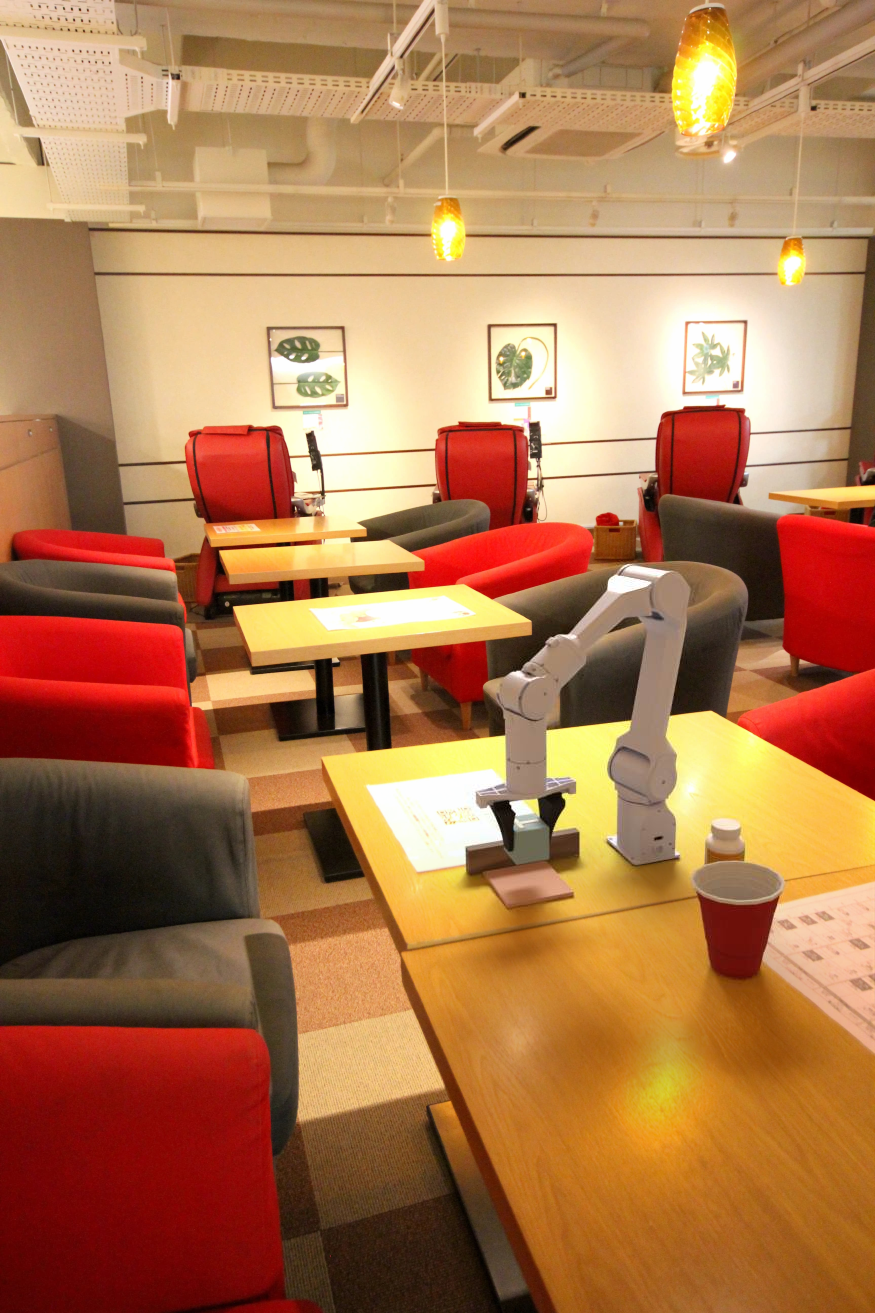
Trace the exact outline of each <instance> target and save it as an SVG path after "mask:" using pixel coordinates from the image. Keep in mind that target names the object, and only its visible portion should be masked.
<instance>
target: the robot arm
mask: <svg viewBox="0 0 875 1313" xmlns="http://www.w3.org/2000/svg"><path fill="white" fill-rule="evenodd" d="M691 590H692V588H691V587H690V586H689V583H688V582H687V581H686V580H685V578H684V576H683V575H682V574H680V573H679V572H677V571H675V570H674V571H673V570H663V569H656V568H652V567H645V566H640V565H638V564H633V563H629V564H626V565H623V566H622V567H621V568H620V569H618V570H617V572H616V573H615V574H614V575H613V576H611V577H610V578H609V579H608V581H607V589H606V591H605V592H604V593H603V594H602V596H600V598H599V599H598V600H597V601H596V602H595V604H594V605H593V606H592V607H591V608H590V609H589V610H588V612H586V614H585V615H584V616H583V618H581V619H580V620H579V622H578V623H577V624H576V625H575V626H574V628H573V629H572V630H571V631H570V632H569V633H568V634H556V635H555V636H554V637H552V636H550V637H549V638H548V639H547V640H546V641H545V646H544V647H542V649H540V650H539V652H537V653H536V655H534V656H533V657H532V658H531V659H530V660H529V661H527V662H526V663H525V664H524V665H523V666H522V668H521V670H515V671H511V672H509V673H508V674H507V675H505V677H503V679H502V680H501V682H500V684H499V686H498V691H496V692H495V699H496V702H497V703H498V705H499V706H500V707H501V709H502V711H503V712H502V713H503V719H504V731H505V732H504V734H505V735H504V737H505V740H504V741H505V744H504V745H505V782H502V783H499V784H496V785H493V786H491V787H487V788H484V789H480V790H475V804H476V805H477V807H478V808H480V809H487V808H488V807H489V808H490V809H491V811H492V814H493V815H494V818H495V820H496V822H497V825H498V827H499V830H500V831H499V832H500V834H501V838H502V840H503V843H504V847H505V848H506V849H507V851H508V852H512V851H513V848H514V836H513V830H514V821H515V816H517V815H516V814H517V813H516V811H514V810H513V808H512V804H510V803H512V802H519V801H528V800H537V804H538V813H539V815H538V816H539V817H540V818H541V819H542V820H543V821H544V822H545V823H546V824H547V825H548V826H549V845H550V841H551V837H552V833H553V831H555V827H556V824H557V822H558V820H559V818H560V815H562V813H563V811H564V810H565V808H566V799H565V798H564V797H563V794H568V795H575V794H577V781H576V780H575V779H574V778H573V777H572V776H564V777H563V776H562V777H548V776H547V774H548V772H547V769H548V767H547V762H548V759H547V755H548V754H547V750H548V749H547V747H548V746H547V742H548V740H547V715H549V714H551V712H553V709H554V707H555V706H556V701H557V697H558V696H559V695H560V693H561V692H560V691H562V688H563V687H564V686H565V685H566V684H567V683H568V682H569V681H570V680H571V679H572V678H573V677H574V676H575V675H576V674H577V673H578V671H580V670H581V669H582V668H583V667H584V666H585V665H586V663H587V651H588V650H589V649H590V648H592V647H593V646H594V645H595V644H597V642H598V641H600V640H601V639H602V638H604V636H606V635H607V634H608V633H609V632H611V630H612V629H614V627H616V626H617V625H618V624H619V623H621V621H623V620H624V619H626V618H638V620H640V622H641V624H642V625H643V626H644V628H646V632H647V633H646V637H645V642H644V647H643V648H644V649H643V654H642V661H641V664H640V671H639V676H638V681H637V685H636V686H637V688H636V693H635V698H634V704H633V710H632V715H631V720H630V726H629V730H628V731H626V732H625V733H622V735H620V736H618V737H617V738H616V741H615V746H614V749H613V751H612V753H611V754H610V756H609V757H608V761H607V764H606V765H607V766H606V770H607V776H608V778H609V779H610V780H611V781H612V782H613V783H614V790H615V791H617V799H616V802H617V804H616V834H615V835H608V836H606V837H605V841H607V842H608V843H609V844H610V845H611V846H612V847H613V848H614V849H616V851H618V852H619V853H620V854H621V855H622V856H623V857H624V858H625V859H626V860H627V861H629V862H630V863H631V864H632V865H633V866H639V865H645V864H650V863H654V862H660V861H666V860H672V859H676V858H680V857H681V853H680V852H679V851H677V850H676V840H677V839H676V837H677V835H676V831H677V821H676V817H675V815H674V813H673V812H672V810H670V808H669V807H668V804H667V802H666V800H668V799H669V797H670V795H671V794H672V793H673V792H674V790H675V788H676V786H677V780H678V772H677V758H678V755H677V752H676V751H675V748H674V746H672V744H671V743H670V741H669V739H668V738H667V731H668V726H669V721H670V717H671V716H670V715H671V711H672V707H673V706H672V704H673V701H674V693H675V690H676V689H675V688H676V683H677V679H678V674H679V668H680V661H681V657H682V652H683V647H684V643H685V642H684V641H685V635H686V631H687V626H688V618H687V612H688V606H689V601H690V596H691Z"/></svg>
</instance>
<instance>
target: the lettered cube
mask: <svg viewBox="0 0 875 1313" xmlns="http://www.w3.org/2000/svg"><path fill="white" fill-rule="evenodd" d="M513 836H514V848H513V851H512V852H508V851H507V849H506V848H505V847H504V850H505V852H506V853H507V854H508V855H509V856H510V858H511V859H512V860H513V861H514V863H515V864H516V865H519V864H525V863H531V862H536V861H542V860H547V859H549V826H548V825H547V824H546V823H545V822H544V821H543V820H542V819H541V818H540V817H539V815H538V814H537V813H536V812H535V813H527V814H526V813H525V814H521V815H515V821H514V830H513Z"/></svg>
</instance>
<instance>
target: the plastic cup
mask: <svg viewBox="0 0 875 1313" xmlns="http://www.w3.org/2000/svg"><path fill="white" fill-rule="evenodd" d="M689 880H690V882H691V885H692V888H693V890H694V891H695V892H696V894H697V899H698V901H699V907H700V913H701V914H700V915H701V918H702V926H703V931H704V937H705V941H706V948H707V955H708V960H709V963H710V966H711V969H712V970H714V972H716V974H719V975H721V976H722V977H725V978H727V979H731V980H748V979H752V978H754V977H755V976H757V975H758V973H759V971H760V968H761V966H762V961H763V957H764V953H765V952H766V950H767V949H766V948H767V946H768V941H769V938H770V933H771V930H772V925H773V922H774V921H773V920H774V916H775V913H776V910H777V906H778V903H779V900H780V897H781V895H782V894H783V892H784V889H785V886H786V883H787V882H786V880H785V879H784V877H783V876H782V874H781V873H780V872H778V871H776V870H774V868H771V867H769V866H766V865H763V864H759V863H756V862H749V861H745V860H744V861H719V862H715V863H710V864H706V865H704V864H703V865H702V866H700V867H698V868H696V869H695V870H693V871H692V874H691V875H690V877H689Z"/></svg>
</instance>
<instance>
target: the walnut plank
mask: <svg viewBox="0 0 875 1313" xmlns="http://www.w3.org/2000/svg"><path fill="white" fill-rule="evenodd" d="M580 837H581V835H580V831H579V829H577V827H571V828H567V829H560V830H553V833H552V837H551V841H550V845H549V859H547V860H546V861H547V862H549V861H556V860H561V859H567V858H573V857H578V856H579V857H580V855H581V854H580V853H581V852H580V849H581V848H580V847H581V846H580V841H581V840H580V839H581V838H580ZM542 861H545V860H542ZM536 862H540V861H536ZM531 863H534V862H531ZM525 864H529V863H525ZM519 865H523V864H519ZM512 866H518V865H516V864H515V863H514V861H513V860H512V859H511V858H510V856H509V855H508V854H507V853H506V852H505V850H504V843H503V839H502V840H494V841H489V842H484V843H479V844H472V845H466V846H465V870H466V873H467V874H468V875H469V876H472V875H478V874H484V871H490V870H495V869H501V868H506V867H512Z"/></svg>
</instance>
